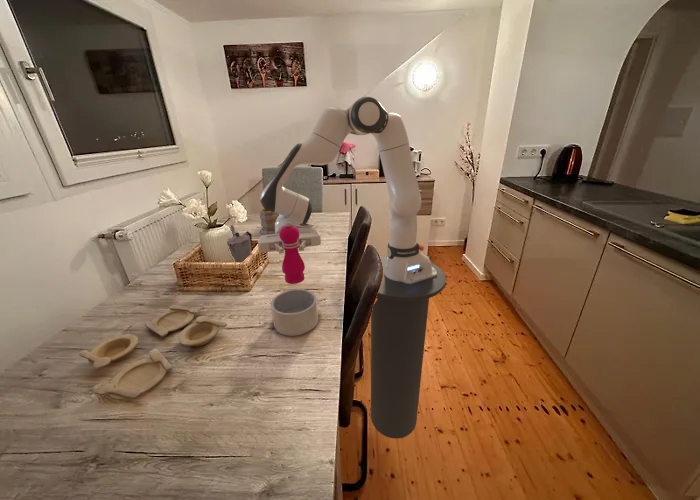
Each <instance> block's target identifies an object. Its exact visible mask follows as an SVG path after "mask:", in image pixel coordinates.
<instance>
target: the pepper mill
mask: <svg viewBox="0 0 700 500" xmlns="http://www.w3.org/2000/svg"><path fill="white" fill-rule="evenodd" d="M285 225H286V226H285V227H283V228H282V229H281V230H280V233H279V236H280V239H281V240H282V241H283V242H282V244H283V247H284V249H285V250H284V257H283V260H282V264H281V271H282V273H283V274H284V281H285V283H287V284H289V285H297V284H301V283H302V282H303V281H305V273H304V271H305V269H306V266H305V262H304V260H303V258H302V257H301V255H300V251H299V248H298V245H299V243H298V242H299V241H298V240H297V239H298V238H299V231H298V229H297V228H296V227H294V226H291V222H289V221H287V222H286V223H285Z"/></svg>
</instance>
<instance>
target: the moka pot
mask: <svg viewBox="0 0 700 500" xmlns="http://www.w3.org/2000/svg"><path fill="white" fill-rule="evenodd" d="M235 235H236V236H234V237H232V238H229V239H227V241H226V244H227V247H228V246H229V248H228V250H229V249H230V251H231V254H232V256H233V257H234V259H235V261H234V262H235V263H236V262H242V261H243V260H245V259H246V258H247V257H248V256H249V255H250V254H251V255H252V253H253V252H252V251H253V236H252V233H251V232H250V231H248V230H246V231H245V233H242V234H240V233H236V234H235Z"/></svg>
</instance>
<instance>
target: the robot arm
mask: <svg viewBox="0 0 700 500" xmlns="http://www.w3.org/2000/svg"><path fill="white" fill-rule="evenodd" d="M349 134H352V135H355V136H366V135H369V134H370V135H372V136H373V137H374V140H375V141H376V145H377V150H378V153H379V157H380V161H381V167H382V170H383V175H384V179H385V184H386V187H387V191H388V196H389V205H388V206H389V212H388V213H389V215H388V216H389V217H388V218H389V221H388V222H389V225H388V227H389V228H388V229H389V230H388V243H387V249H386V250H387V251H386V253H387V256H388V260H387V265H386V269H385V271H384V274H385V276H386V277H387V278H389V279H391V280H394V281H399V282H404V283H407V284H413V283H416V282H419V281H422V280H425V279H429V278H432V277H435V276H437V272H436V270H435V269H434V268H433V267H432V264H431V263H432V260H431V259H432V257H431V256H429V255H427V254H426V253H423V251H424V250H425V246H424V245H422V244H419V243H418V242H417V235H418V233H417V232H418V221H417V220H418V218H417V216H418V213H419V211H420V209H421V207H422V194H421V191H420V187H419V186H420V185H419V182H418V178H417V174H416V170H415V167H414V162H413V161H414V160H413V156H412V151H411V146H410V140H409V137H408V133H407V129H406V126H405V124H404V120H403V119H402V117H401V115H399V114H398V113H394V112H389V113H388V111H387V110H386V109H385V108H384V107H383V106H382V104H381V103H380V101H379V100H378V99H376V98H374V97H372V96H362V97H360V98H357V100H355V101H354V102H353V103H352V104H351V105H350V106H349V107H348V108H347V109H342V108H341V107H339V106H334V105H330V106H328V107H326V108H325V109H324V110H323V111H322V113H321V114H320V116H319V118H318V120H317V121H316V123H315V125H314V127H313V128H312V132H311V133H310V135H309V137H308V138H307V139H306V140H305V141H304V142H302V143H300V142H299V143H297V144H295V145H294V146H293V148H291V150H290V151H289V153H288V154H287V156H286V158H285V159H284V160H283V161H282V163H281V165H280V166H279V168H278V169H277V170H276V172H275V174H274V175H273V177H272V178H271V180H270V182H269V183H267V185H266V186H265V187H264V188H263V190H262V192H261V193H260V197H259V202H260V204H261V206H262V207H263V209H265V210H267V211H271V212H275V213H278V214H279V216H278V217H277V219H276V222H275V234H269V235H267V234H263V235H261V236H260V237H259V238H258V239H257V246H258V248H257V249H258V251H259V253H271V252H277V253H278V254H279V255H280V254H285V249H284V247H283V244H282V242H283V241H282V240H281V239H280V236H279V233H280V230H281V229H282V228H283V227H285V226H286V225H285V223H286V222H287V221H289V222H291V226H294V227H296V228H297V229H298V231H299V238H298V239H297V240H298V241H299V242H298V243H299V245H298V252H302V251H303V252H304V251H305V249H306V248H310V247H317V246H320V245H321V243H322V242H321V241H322V240H321V233H320V232H319V231H318V230H317V229H316V228H315V227H313V223H309V220H310V219H311V216H312V211H313V206H312V205H313V204H312V201H311V200H310V198H309V197H307V196H305V195H302V194H300V193H298V192H295V191H293V190H291V189H288V188H286V187H284V184H285V183H286V181H287V180H288V178H289V177H290V175H291V174H292V172H293V171H294V169H295V168H297V167H298V166H301V165H311V166H312V165H313V166H325V165H329V164H330V163H332V162H333V161H334V160H335V159H336V158H337V155H338V154H339V152H340V150H341V148H342V146H343V143H344V141H345V139H346V138H347V136H348V135H349Z"/></svg>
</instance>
